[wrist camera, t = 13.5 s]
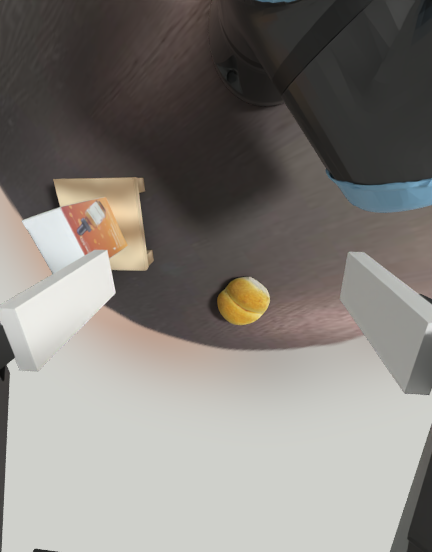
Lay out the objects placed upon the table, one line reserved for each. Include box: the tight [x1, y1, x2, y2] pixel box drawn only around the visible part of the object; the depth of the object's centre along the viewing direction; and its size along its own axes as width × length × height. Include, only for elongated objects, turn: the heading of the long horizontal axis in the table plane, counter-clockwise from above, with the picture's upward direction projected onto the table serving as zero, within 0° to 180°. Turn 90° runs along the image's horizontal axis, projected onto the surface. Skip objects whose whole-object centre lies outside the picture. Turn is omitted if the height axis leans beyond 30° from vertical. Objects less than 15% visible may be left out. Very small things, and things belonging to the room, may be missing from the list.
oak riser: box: [53, 177, 153, 270], centre depth 42 cm, size 14×12×4 cm
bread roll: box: [217, 277, 270, 325], centre depth 46 cm, size 8×9×4 cm
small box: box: [22, 197, 128, 274], centre depth 36 cm, size 8×6×10 cm
